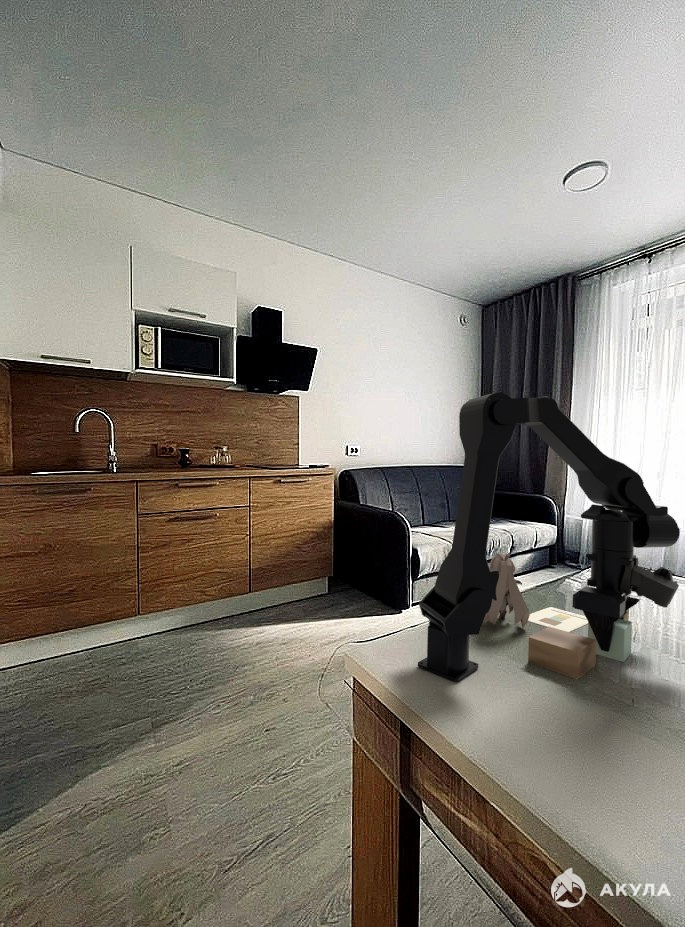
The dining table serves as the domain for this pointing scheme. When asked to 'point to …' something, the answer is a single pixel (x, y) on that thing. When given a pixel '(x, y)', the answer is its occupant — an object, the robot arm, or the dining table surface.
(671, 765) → the dining table surface
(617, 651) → the pale green cube
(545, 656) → the base block
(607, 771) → the dining table surface
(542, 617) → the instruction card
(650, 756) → the dining table surface
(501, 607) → the toy
